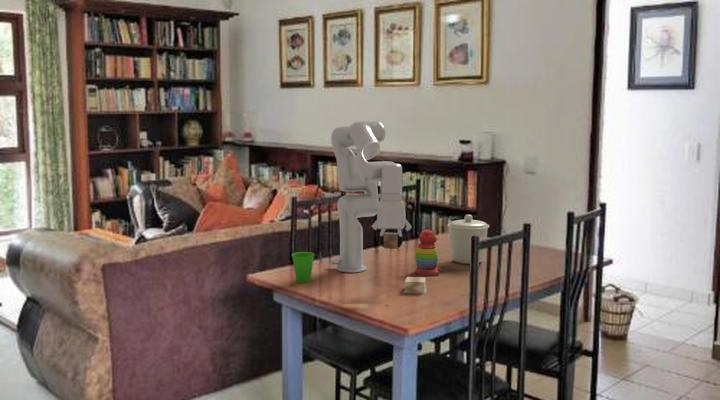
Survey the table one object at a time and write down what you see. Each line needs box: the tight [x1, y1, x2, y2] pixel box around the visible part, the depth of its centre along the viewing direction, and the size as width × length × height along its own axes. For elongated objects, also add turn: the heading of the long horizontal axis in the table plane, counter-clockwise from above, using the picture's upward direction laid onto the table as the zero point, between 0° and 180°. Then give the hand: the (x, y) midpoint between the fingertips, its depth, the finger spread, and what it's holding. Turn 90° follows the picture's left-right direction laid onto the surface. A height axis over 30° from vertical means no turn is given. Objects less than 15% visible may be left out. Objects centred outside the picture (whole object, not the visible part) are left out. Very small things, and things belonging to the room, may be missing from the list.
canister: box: [447, 214, 490, 265], centre depth 309 cm, size 18×18×21 cm
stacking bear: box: [414, 228, 441, 277], centre depth 291 cm, size 11×10×18 cm
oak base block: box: [404, 276, 427, 294], centre depth 260 cm, size 7×7×4 cm
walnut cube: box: [383, 231, 399, 250], centre depth 259 cm, size 5×5×5 cm
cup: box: [291, 251, 316, 284], centre depth 277 cm, size 9×9×11 cm
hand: (391, 246), depth 259 cm, fingers closed on walnut cube, 5 cm apart
